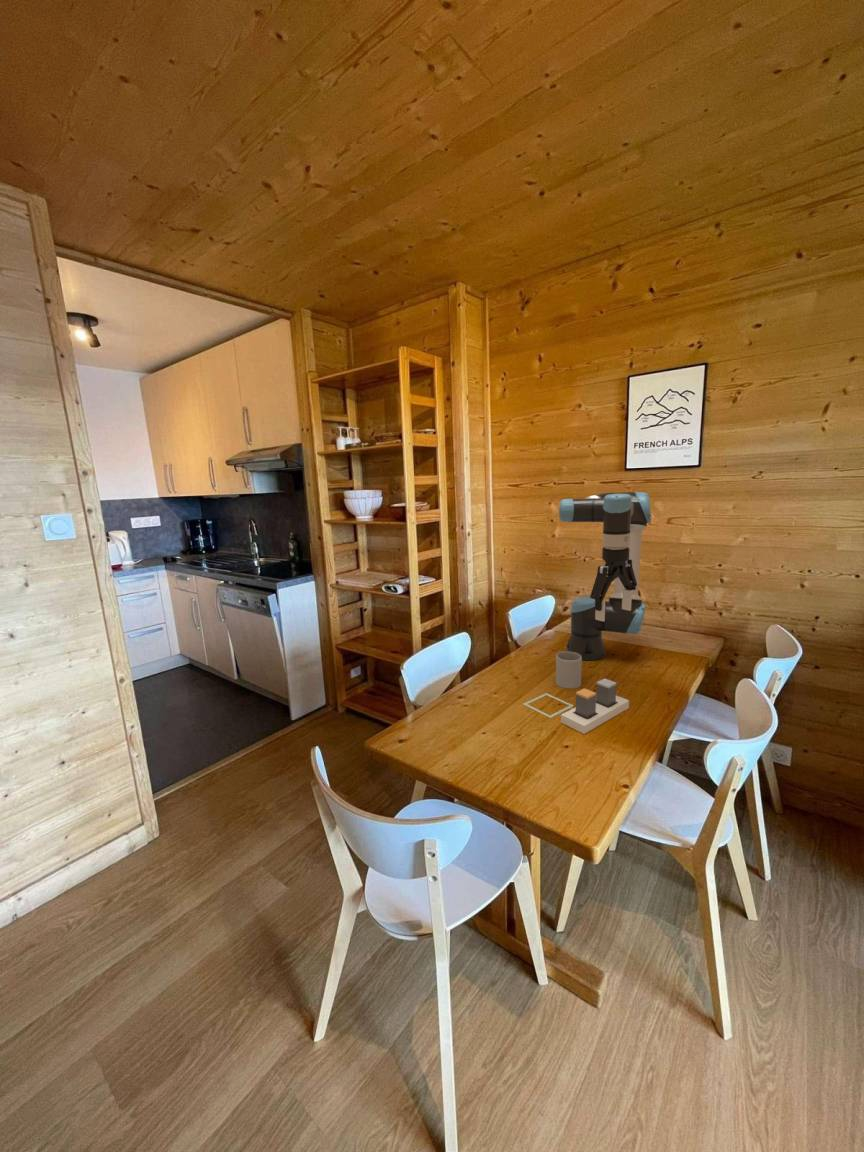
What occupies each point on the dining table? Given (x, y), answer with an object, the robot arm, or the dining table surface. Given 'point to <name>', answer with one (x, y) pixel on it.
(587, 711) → the plug
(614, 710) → the strip
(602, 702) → the grey square peg
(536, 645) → the dining table surface
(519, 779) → the dining table surface
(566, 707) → the tray
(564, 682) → the mug
